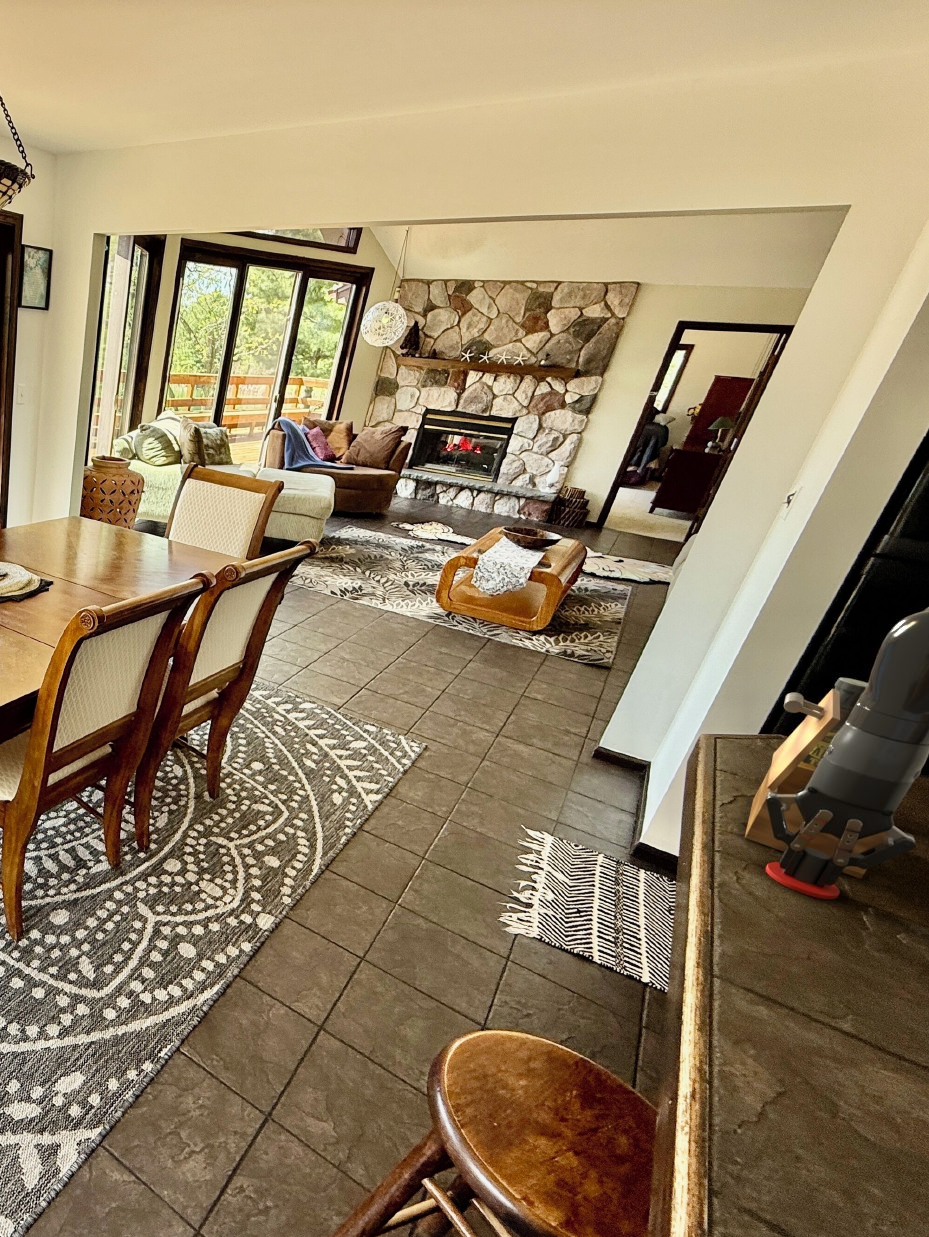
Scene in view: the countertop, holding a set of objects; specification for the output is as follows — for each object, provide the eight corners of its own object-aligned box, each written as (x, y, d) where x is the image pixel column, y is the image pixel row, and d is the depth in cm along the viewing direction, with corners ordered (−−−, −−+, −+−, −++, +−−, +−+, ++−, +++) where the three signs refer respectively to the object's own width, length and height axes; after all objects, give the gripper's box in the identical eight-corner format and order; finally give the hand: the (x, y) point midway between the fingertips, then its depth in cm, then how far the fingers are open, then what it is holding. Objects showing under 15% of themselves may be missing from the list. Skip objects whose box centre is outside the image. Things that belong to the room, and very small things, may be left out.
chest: (858, 834, 104) (885, 789, 101) (861, 879, 93) (891, 830, 90) (753, 800, 112) (775, 758, 109) (744, 837, 101) (768, 792, 98)
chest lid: (839, 691, 102) (797, 675, 105) (840, 720, 92) (793, 701, 94) (779, 756, 108) (741, 740, 111) (773, 791, 98) (731, 771, 101)
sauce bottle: (782, 795, 114) (842, 685, 106) (758, 777, 119) (813, 671, 112) (832, 804, 112) (896, 692, 105) (805, 785, 118) (864, 678, 110)
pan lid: (828, 879, 93) (845, 851, 91) (845, 906, 88) (863, 877, 86) (759, 859, 96) (775, 831, 95) (772, 884, 91) (788, 855, 89)
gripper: (953, 778, 83) (879, 894, 89) (791, 734, 92) (734, 842, 99) (961, 799, 78) (881, 919, 85) (789, 750, 87) (729, 862, 94)
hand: (802, 877), depth 92 cm, fingers closed on pan lid, 2 cm apart
